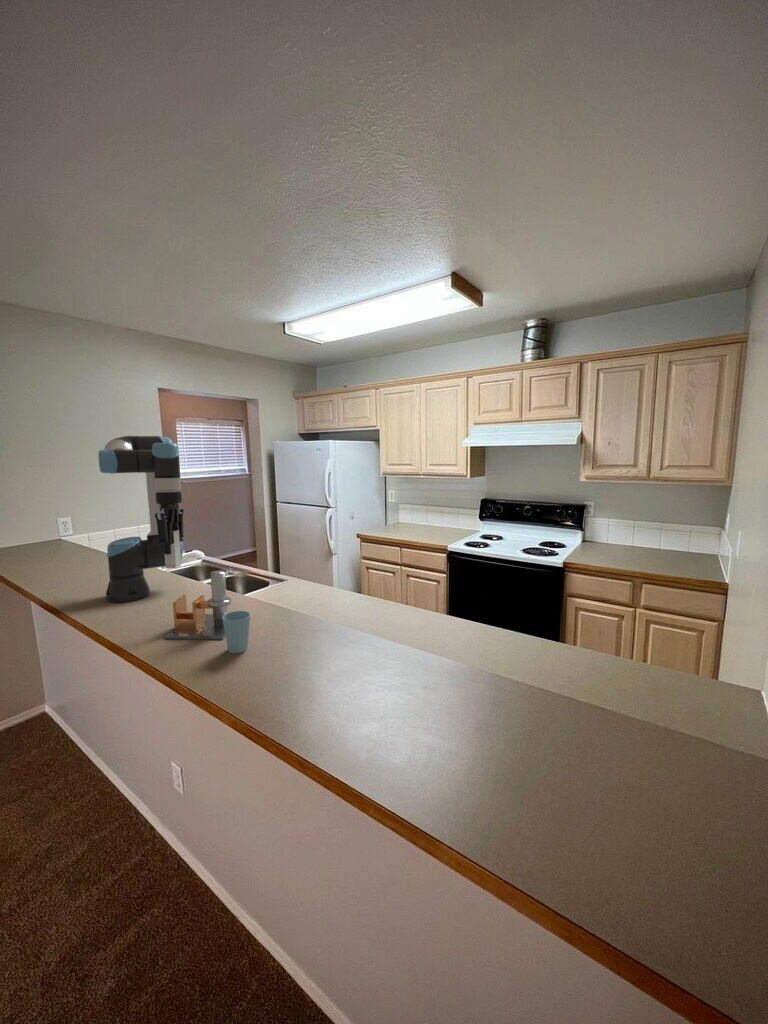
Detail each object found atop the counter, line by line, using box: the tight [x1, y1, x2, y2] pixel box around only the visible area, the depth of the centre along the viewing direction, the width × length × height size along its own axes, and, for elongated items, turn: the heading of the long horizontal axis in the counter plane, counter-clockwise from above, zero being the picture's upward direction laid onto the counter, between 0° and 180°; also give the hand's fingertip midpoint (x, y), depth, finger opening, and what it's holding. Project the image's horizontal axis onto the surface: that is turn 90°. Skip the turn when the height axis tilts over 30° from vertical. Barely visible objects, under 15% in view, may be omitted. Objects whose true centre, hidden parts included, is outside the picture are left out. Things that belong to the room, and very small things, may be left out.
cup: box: [222, 610, 251, 654], centre depth 125 cm, size 8×8×10 cm
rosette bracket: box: [164, 569, 232, 640], centre depth 140 cm, size 18×18×19 cm
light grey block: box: [165, 530, 182, 569], centre depth 140 cm, size 3×3×12 cm
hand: (173, 562), depth 140 cm, fingers closed on light grey block, 3 cm apart
